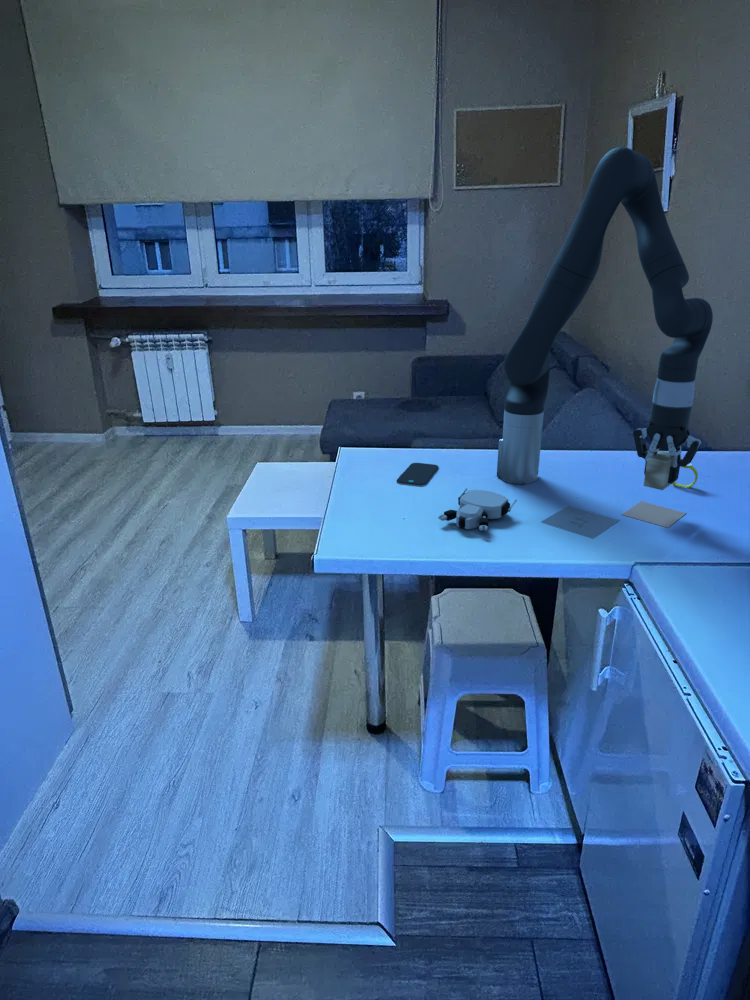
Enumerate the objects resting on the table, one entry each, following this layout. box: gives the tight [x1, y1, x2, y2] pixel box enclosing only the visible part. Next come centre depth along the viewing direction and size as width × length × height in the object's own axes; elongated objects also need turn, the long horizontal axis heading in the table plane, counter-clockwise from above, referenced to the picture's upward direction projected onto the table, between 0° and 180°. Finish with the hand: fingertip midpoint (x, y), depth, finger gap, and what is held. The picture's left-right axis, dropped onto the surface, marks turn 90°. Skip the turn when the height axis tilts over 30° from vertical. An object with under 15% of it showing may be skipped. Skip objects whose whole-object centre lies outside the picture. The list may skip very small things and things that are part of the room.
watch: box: [671, 463, 699, 489], centre depth 162 cm, size 6×3×6 cm, turn 59°
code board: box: [540, 505, 620, 540], centre depth 145 cm, size 12×12×1 cm
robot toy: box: [438, 487, 518, 532], centre depth 146 cm, size 12×4×15 cm
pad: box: [621, 500, 687, 529], centre depth 148 cm, size 10×10×1 cm
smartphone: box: [396, 462, 440, 487], centre depth 172 cm, size 8×1×15 cm
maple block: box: [643, 450, 674, 491], centre depth 144 cm, size 4×7×6 cm, turn 137°
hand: (660, 479), depth 145 cm, fingers closed on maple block, 4 cm apart
